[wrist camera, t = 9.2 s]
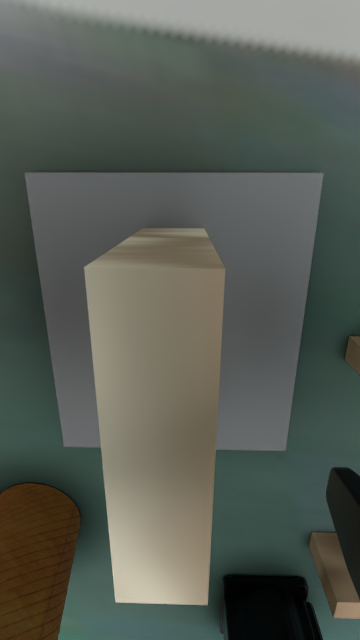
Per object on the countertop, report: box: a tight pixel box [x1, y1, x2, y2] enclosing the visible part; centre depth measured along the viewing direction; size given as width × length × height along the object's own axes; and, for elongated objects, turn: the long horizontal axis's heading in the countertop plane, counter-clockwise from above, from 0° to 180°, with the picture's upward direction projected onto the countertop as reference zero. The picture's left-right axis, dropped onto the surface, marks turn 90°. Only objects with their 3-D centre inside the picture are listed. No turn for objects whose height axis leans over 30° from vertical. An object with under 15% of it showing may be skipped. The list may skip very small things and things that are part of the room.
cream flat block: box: [84, 228, 225, 605], centre depth 14 cm, size 3×11×10 cm, turn 0°
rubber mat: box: [24, 172, 324, 451], centre depth 19 cm, size 14×16×1 cm
